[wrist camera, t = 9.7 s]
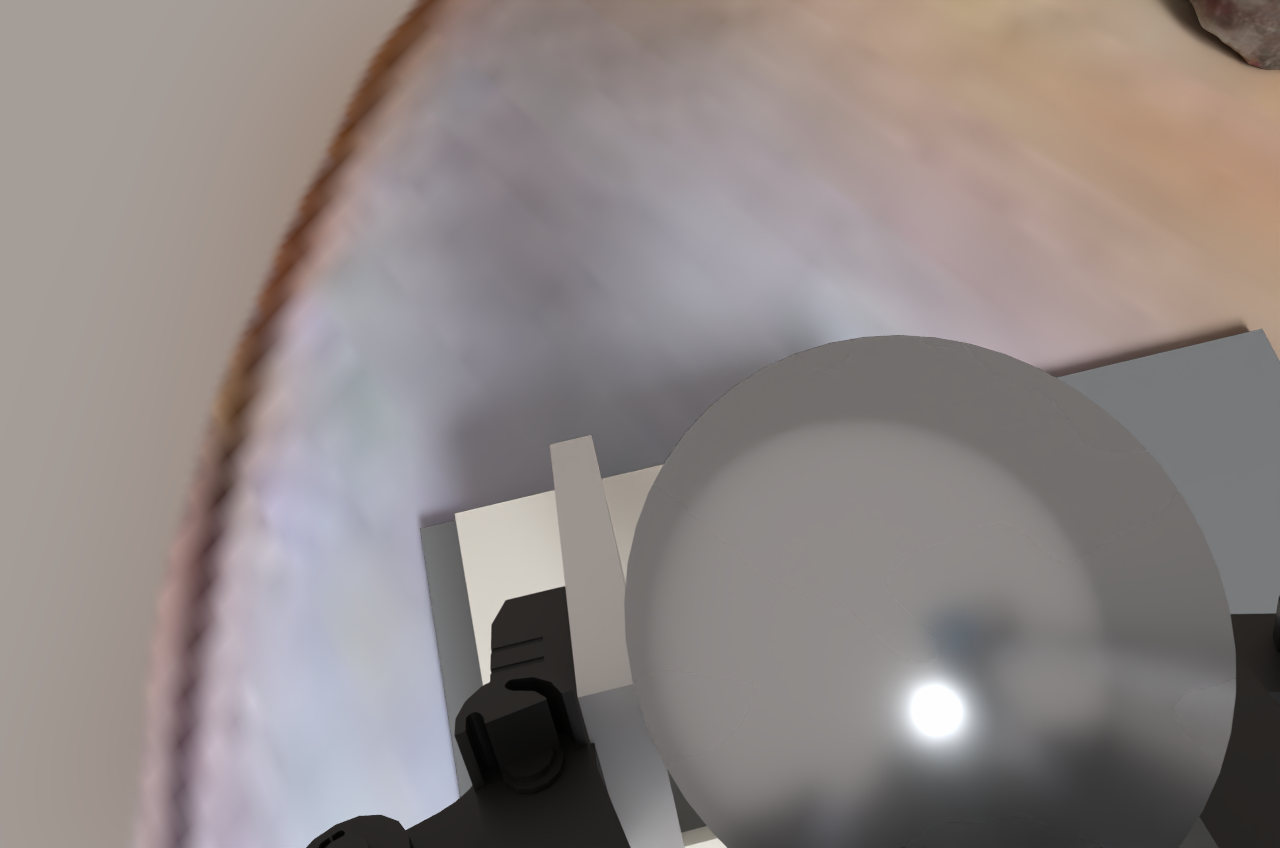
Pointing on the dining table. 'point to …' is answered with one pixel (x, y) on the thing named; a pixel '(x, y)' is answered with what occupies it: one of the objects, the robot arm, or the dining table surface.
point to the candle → (1245, 27)
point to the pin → (927, 612)
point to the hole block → (540, 561)
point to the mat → (1134, 396)
